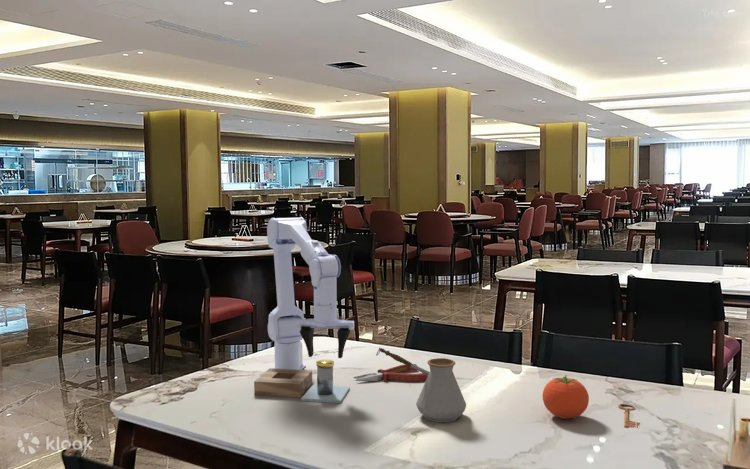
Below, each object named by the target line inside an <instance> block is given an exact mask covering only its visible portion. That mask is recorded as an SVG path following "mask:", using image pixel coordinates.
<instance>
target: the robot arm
mask: <svg viewBox="0 0 750 469" xmlns="http://www.w3.org/2000/svg"><path fill="white" fill-rule="evenodd" d="M266 232H267V235H266V236H267V243H268V248H270V249H272V250H273V262H274V274H275V287H276V288H275V289H276V302H277V303H276V304H277V306H276V307H275V308H274V309H272V311H270V313H269V314H268V323H267V333H268V334H267V335H268V337H269V338H270V339H271V341H273V342H274V368H273V369H294V370H304V368H305V367H307V366H306V364H305V363H304V362H303V343H302V341H303V342H304V344H305V346H306V350H307V355H308V357H309V358H312V357H313V356H314V351H315V350H314V333H315V332H314V331H315V329H325V330H326V329H327V330H328V329H329V330H331V329H332V330H338V331H337V332H336V334H337V341H338V342H337V344H338V348H337V357H338V359H342V358H343V357H344V356H343V355H344V349H345V346H346V342H347V339H348V337H349V335H350V333H351V331H353V330H354V329H355V320H345V319H340V318H339V319H338V318H337V316H338V315H337V312H338V310H337V306H338V305H337V303H338V302H337V298H338V295H337V293H338V292H337V291H338V290H337V289H338V288H337V286H338V285H337V283H338V282H337V278H339V277H340V275H341V271H342V270H341V269H342V265H341V261H340V258H339V257H338V255H336V254H329V253H328V251H327V250H326V249H325V248H324V247H323V245H322V244H321V243H320V242H319V241H318V240H315V239H312V238H311V236H310V235H309V232H308V227H307V221H306V220H305V218H303V217H302V216H299V217H276V218H275V217H271V218H270V219H269V220H268V223H267V226H266ZM297 246H298V247H299V248H300V255H301V257H302V258H303V260H304V261H305V263H306V264H307V265H308V268H309V269H308V270H309V274H310V275H309V276H310V277H311V278H310V279H311V285H312V286H313V318H305V315H304V312H303V310H302V309H300V308H299V307H297V306H296V302H295V289H294V287H295V286H294V276H293V273H294V272H293V262H292V260H293V259H292V250H293V249H294V248H295V247H297Z"/></svg>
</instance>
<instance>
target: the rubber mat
mask: <svg viewBox="0 0 750 469" xmlns="http://www.w3.org/2000/svg"><path fill="white" fill-rule="evenodd" d="M309 387H310V388H308V389H307V390H306V391H305V392H304V395H302V396H301V397H300V398H301V399H300V401H301V402H312V403H313V402H315V403H334V404H341V403H342V401H343V400H344V399H345V397H346V396H347V395H348V393H349V391H350V389H351V387H350V386H339V385H338V386H337V385H333V394H331V395H319V394H317V384H311V385H310V386H309Z"/></svg>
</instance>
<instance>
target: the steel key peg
mask: <svg viewBox="0 0 750 469" xmlns="http://www.w3.org/2000/svg"><path fill="white" fill-rule="evenodd" d="M315 365H316V368H317V369H316V371H317V372H316V377H317V378H316V385H317V394H319V395H331V394H333V386H334V365H335V362H334V360H332V359H319V360H316V364H315Z"/></svg>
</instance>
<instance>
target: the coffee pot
mask: <svg viewBox="0 0 750 469" xmlns="http://www.w3.org/2000/svg"><path fill="white" fill-rule="evenodd" d="M380 353H382V354H385V356H387V357H388V356H389V357H391V359H393V360H394V361H397V362H398V363H401V364H402V365H408V366H410V367H412V368H414V369H416V370H417V371H418V372H420V373H424V374H425V375H427V376H428V377H427V379H426V381H424V384H423V386H422V389H421V391H420V393H419V396H418V398H417V400H416V403H415V405H416V408H417V410H418V411H419V414H421V415H422V416H424V418H425V419H426V420H428V421H432V422H437V423H450V422H454V421H456V420H457V419H459V418H458V417H461V415H462V414H464V412H465V410H466V408H467V403H466V400H465V397H464V396H463V393H462V391H461V388H460V386H459V383H458V381H457V379H456V376H455V374H454V371H453V369H454V366H456V361H455V360H454V359H451V358H446V357H441V358H431V359H429V360H427V365H429V371H428V370H426V369H424V368H422V367H420V366H418V365H417V364H416V365H417V366H416V365H414V364H415V363H412V362H411V361H409V360H407V359H406V358H403V357H402V356H400V355H399V354H396V353H392V352H390V350H386V349H384V348H382V347H379V348H378V349H377V352H376V354H375V355H376V356H379V354H380Z"/></svg>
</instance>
